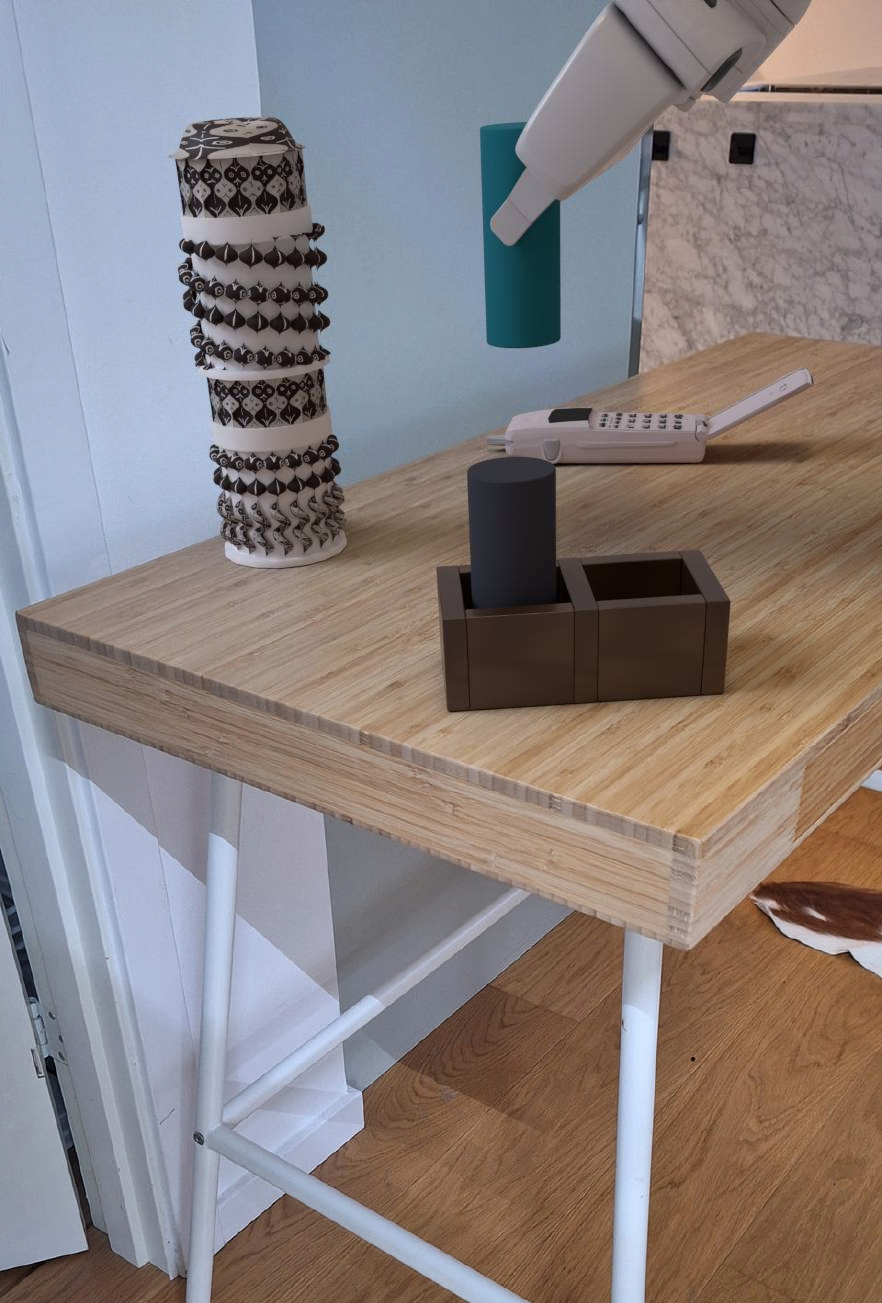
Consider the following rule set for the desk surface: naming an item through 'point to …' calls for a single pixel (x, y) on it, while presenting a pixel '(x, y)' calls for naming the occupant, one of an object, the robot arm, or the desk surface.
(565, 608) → the mount block
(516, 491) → the seated dark gray cylinder
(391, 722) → the desk surface
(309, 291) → the white patterned tall cylinder
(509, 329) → the teal cylinder
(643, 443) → the mobile phone
